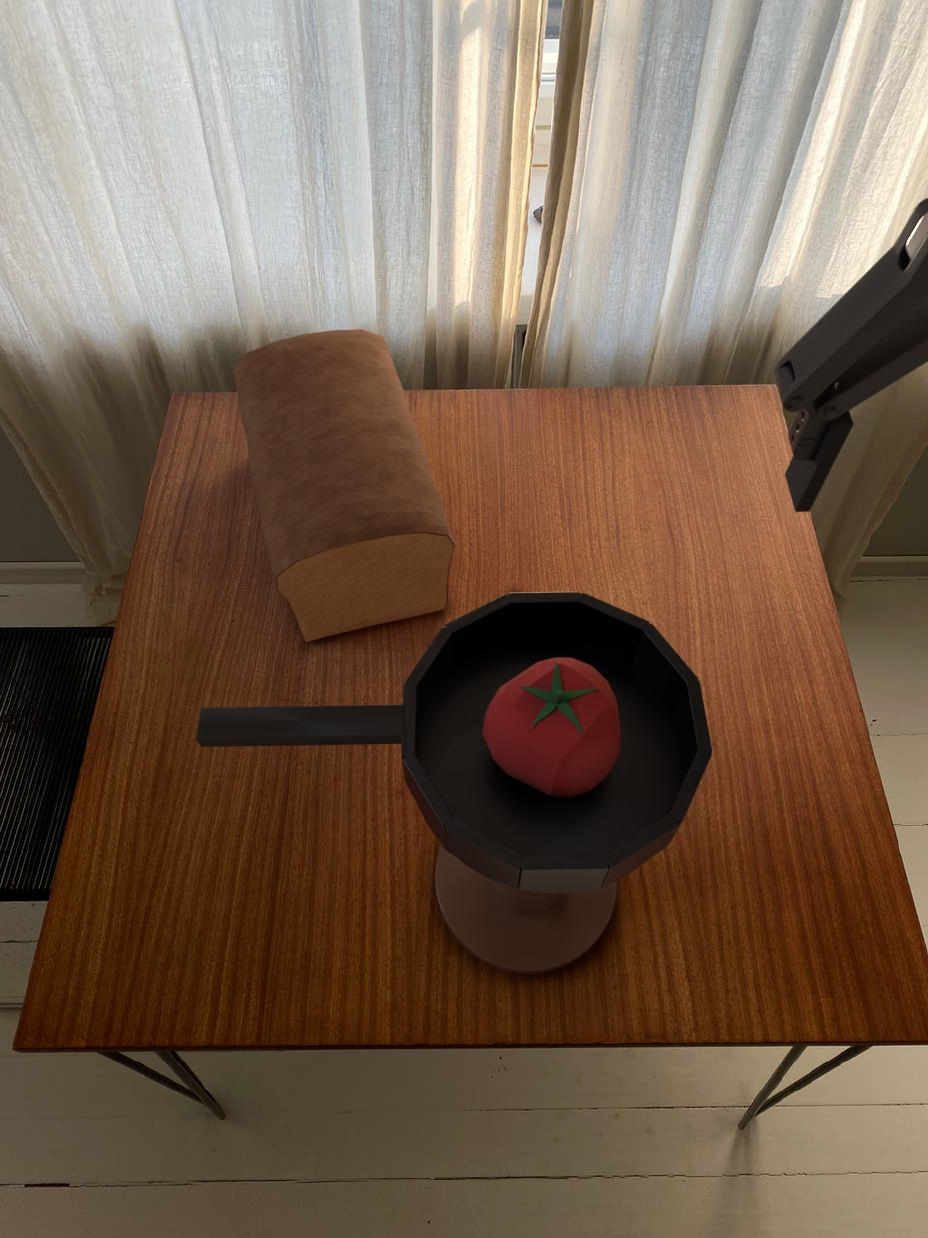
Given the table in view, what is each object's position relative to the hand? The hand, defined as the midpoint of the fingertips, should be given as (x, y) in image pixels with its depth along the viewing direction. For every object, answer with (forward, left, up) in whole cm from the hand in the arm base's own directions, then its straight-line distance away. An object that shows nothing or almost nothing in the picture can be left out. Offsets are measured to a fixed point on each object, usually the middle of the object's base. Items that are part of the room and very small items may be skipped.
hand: (920, 491), depth 48 cm
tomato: (-9, +20, -13) cm, 25 cm away
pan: (-9, +26, -42) cm, 50 cm away
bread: (+32, +38, -42) cm, 65 cm away
